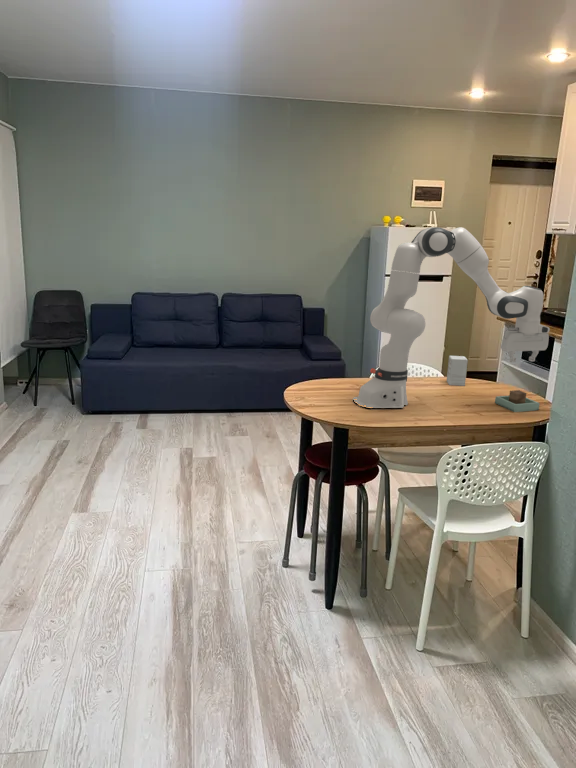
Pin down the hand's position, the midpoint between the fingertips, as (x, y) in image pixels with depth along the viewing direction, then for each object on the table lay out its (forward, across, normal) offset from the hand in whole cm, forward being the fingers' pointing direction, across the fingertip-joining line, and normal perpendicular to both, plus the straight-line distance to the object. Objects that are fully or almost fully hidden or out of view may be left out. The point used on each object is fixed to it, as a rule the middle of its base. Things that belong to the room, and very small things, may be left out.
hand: (522, 361), depth 233 cm
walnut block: (+18, 0, 0) cm, 18 cm away
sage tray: (+19, 0, 0) cm, 19 cm away
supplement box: (+19, -4, +37) cm, 42 cm away
